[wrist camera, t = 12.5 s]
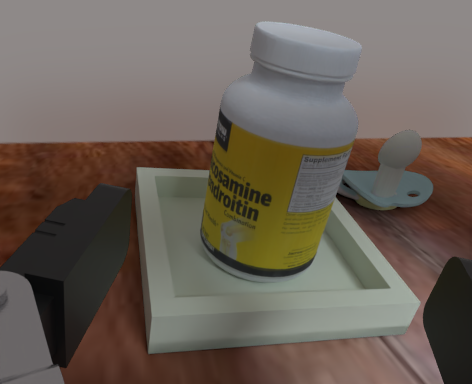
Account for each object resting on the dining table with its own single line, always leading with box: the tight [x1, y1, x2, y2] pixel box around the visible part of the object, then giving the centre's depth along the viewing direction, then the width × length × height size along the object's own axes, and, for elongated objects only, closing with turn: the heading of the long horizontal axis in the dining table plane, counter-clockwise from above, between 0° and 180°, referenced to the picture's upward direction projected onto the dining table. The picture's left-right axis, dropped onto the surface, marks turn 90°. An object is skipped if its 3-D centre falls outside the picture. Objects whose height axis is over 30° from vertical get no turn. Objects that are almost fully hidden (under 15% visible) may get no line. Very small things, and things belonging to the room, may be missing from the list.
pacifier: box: [337, 130, 433, 210], centre depth 33 cm, size 7×6×6 cm
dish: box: [135, 167, 421, 354], centre depth 24 cm, size 12×12×2 cm
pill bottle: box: [200, 22, 362, 283], centre depth 22 cm, size 6×6×12 cm
